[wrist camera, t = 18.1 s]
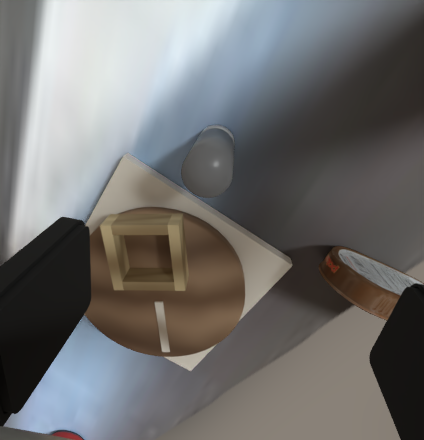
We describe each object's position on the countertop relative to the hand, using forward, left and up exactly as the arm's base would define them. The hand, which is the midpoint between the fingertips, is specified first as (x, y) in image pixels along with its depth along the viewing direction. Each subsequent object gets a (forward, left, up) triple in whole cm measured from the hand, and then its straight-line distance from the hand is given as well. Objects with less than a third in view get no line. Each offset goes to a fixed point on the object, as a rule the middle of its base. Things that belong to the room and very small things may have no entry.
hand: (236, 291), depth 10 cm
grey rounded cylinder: (+2, -1, -24) cm, 24 cm away
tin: (+3, +21, -24) cm, 32 cm away
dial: (+18, +2, -22) cm, 28 cm away
